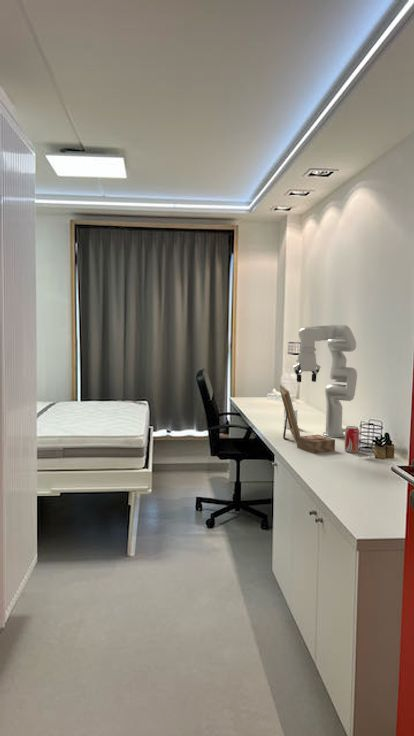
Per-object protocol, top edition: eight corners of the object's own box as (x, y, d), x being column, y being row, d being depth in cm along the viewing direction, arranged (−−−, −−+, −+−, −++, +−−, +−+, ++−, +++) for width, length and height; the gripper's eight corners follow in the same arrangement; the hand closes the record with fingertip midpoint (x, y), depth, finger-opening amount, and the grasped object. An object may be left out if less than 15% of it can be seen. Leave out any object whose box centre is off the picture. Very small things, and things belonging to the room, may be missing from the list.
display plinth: (317, 445, 293) (318, 433, 292) (334, 450, 280) (335, 438, 280) (297, 447, 287) (297, 436, 286) (313, 453, 274) (313, 441, 274)
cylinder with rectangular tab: (299, 427, 344) (300, 409, 343) (292, 429, 338) (292, 410, 337) (288, 425, 350) (288, 407, 350) (280, 427, 344) (280, 409, 343)
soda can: (358, 450, 281) (359, 426, 280) (358, 453, 275) (359, 428, 274) (345, 449, 284) (345, 425, 283) (343, 452, 277) (344, 427, 276)
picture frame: (302, 445, 293) (303, 391, 291) (284, 444, 294) (285, 390, 291) (294, 433, 326) (295, 384, 324) (277, 433, 326) (278, 384, 324)
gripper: (316, 350, 296) (315, 380, 297) (290, 350, 289) (289, 381, 290) (324, 350, 289) (323, 382, 291) (298, 350, 282) (297, 382, 283)
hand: (306, 381), depth 290 cm, fingers open, 9 cm apart
